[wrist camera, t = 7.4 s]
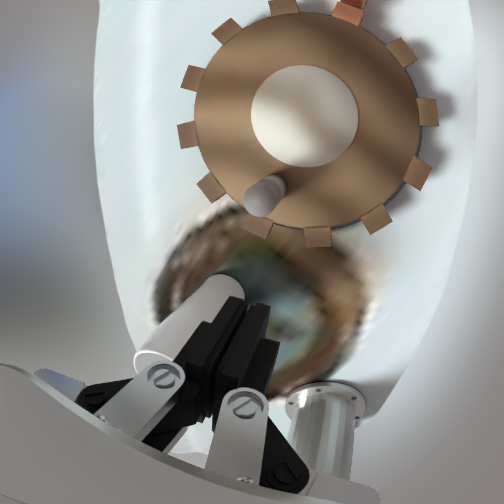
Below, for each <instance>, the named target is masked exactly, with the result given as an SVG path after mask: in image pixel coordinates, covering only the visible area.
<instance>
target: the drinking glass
mask: <svg viewBox="0 0 504 504" xmlns="http://www.w3.org/2000/svg"><path fill="white" fill-rule="evenodd" d="M229 296H233V297H237V298H241V299H243V300H244V299H245V295H244V291H243V288H242V287H241V285H240V284H239V283H238V282H237V281H236V280H235V279H234V278H232V277H230V276H228V275H223V274H217V275H213V276H211V277H209V278H208V279H207V280H206V281H205V282H204V283H203V284H202V285H201V287H199V288H198V289H197V290H196V291H195V292H194V293H193V294H192V295H191V296H190V297H189V298H188V299H187V300H186V301H184V302H183V303H182V304H181V305H180V306H179V307H178V308H177V309H176V310H175V311H174V312H172V313H171V314H170V315H169V316H168V317H167V318H166V319H165V320H164V321H163V322H162V323H161V324H160V325H159V326H158V327H157V328H156V329H155V330H154V331H153V332H152V333H151V335H150V336H149V337H148V338H147V339H146V341H145V342H144V343H143V344H142V346H141V347H140V349H139V350H138V351H137V352H136V354H135V356H134V367H135V369H136V372H137V373H138V374H139V373H140V372H141V371H142V370H143V369H145V368H146V367H147V366H148V365H150V364H151V363H153V362H156V361H163V360H164V361H171V362H172V361H173V360H174V359H175V357H176V356H177V355H178V353H179V352H180V350H181V349H182V348H183V346H184V345H185V344H186V342H187V341H188V339H189V338H190V337H191V335H192V334H193V333H194V331H195V330H196V328H197V327H198V326H199V324H200V323H201V322H202V321H206V322H209V323H212V321H213V320H214V318H215V317H216V315H217V314H218V312H219V311H220V309H221V308H222V306H223V305H224V303H225V302H226V300H227V299H228V297H229Z"/></svg>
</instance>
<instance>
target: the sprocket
mask: <svg viewBox="0 0 504 504" xmlns="http://www.w3.org/2000/svg"><path fill="white" fill-rule="evenodd" d="M268 3H269V7H270V12H271V16H272V17H268V18H266V19H263V20H260V21H257V22H255V23H253V24H251V25H249V26H247V27H246V28H244V29H243V28H241V27H240V26H239V25H238V24H237V23H236V22H235V21H234V20H233V19H232V18H230V19H228V20H227V21H226V22H225V23H223V24H222V25H221V26H220V27H218V28H217V29H216V30H215V31H214V32H212V33H211V34H212V35H213V36H214V37H215V38H216V39H217V40H218V41H219V42H220V43H221V44H222V47H221V48H220V49H219V50H218V51H217V53H216V54H215V55H214V56H213V58H212V59H211V61H210V62H209V64H208V66H207V67H206V69H204V68H200V67H195V66H191V65H188V68H187V71H186V73H185V76H184V79H183V82H182V84H181V87H180V88H184V89H188V90H191V91H195V92H197V94H196V100H195V106H194V121H191V122H187V123H183V124H180V125H177V128H178V134H179V140H180V146H181V149H183V148H189V147H194V146H199V149H200V152H201V154H202V157H203V160H204V161H205V163H206V165H207V167H208V169H209V171H210V173H208V174H207V175H206V176H205V177H204V178H203V179H202V180H200V181H199V182H198V183H197V185H198V186H199V188H200V189H201V190H202V192H203V193H204V194H205V196H206V197H207V198H208V199H209V201H210V202H211V203H213V202H215V201H216V200H218V199H220V198H221V197H222V196H223V195H225V194H226V193H227V194H228V195H229V196H230V197H232V198H233V199H234V200H235V201H236V202H237V203H239V204H240V205H241V206H243V207H244V208H246V209H247V211H248V212H249V213H248V216H247V218H246V221H245V223H244V226H243V229H245V230H247V231H249V232H251V233H254V234H256V235H258V236H260V237H262V238H264V239H266V238H267V236H268V235H269V233H270V231H271V229H272V227H273V224H274V222H275V223H278V224H282V225H286V226H291V227H298V228H304V238H305V248H306V247H331V241H332V238H331V227H333V226H337V225H341V224H345V223H348V222H351V221H353V220H356V219H359V218H360V219H361V220H362V222H363V224H364V225H365V227H366V228H367V230H368V232H369V233H370V235H371V234H373V233H375V232H376V231H378V230H380V229H381V228H383V227H384V226H386V225H388V224H389V223H391V222H393V221H392V219H391V218H390V216H389V214H388V212H387V211H386V209H385V207H384V206H383V203H384V202H385V201H386V200H387V199H388V198H389V197H390V196H391V195H392V194H393V193H394V192H395V191H396V190H397V188H398V187H399V186H400V184H401V183H402V182H403V181H405V182H406V183H408V184H410V185H411V186H413V187H415V188H416V189H418V190H419V191H421V189H422V187H423V185H424V183H425V181H426V179H427V177H428V175H429V173H430V171H431V169H432V167H430V166H429V165H427V164H426V163H424V162H423V161H421V160H419V159H418V158H416V157H415V154H416V150H417V146H418V142H419V131H420V126H439V122H438V113H437V106H436V99H425V98H416V95H415V92H414V90H413V87H412V84H411V82H410V80H409V78H408V76H407V74H406V72H405V70H404V69H405V68H406V67H408V66H410V65H411V64H413V63H414V62H415V61H417V60H418V58H417V57H416V55H415V54H414V53H413V52H412V50H411V49H410V48H409V47H408V45H407V44H406V43H405V42H404V41H403V40H402V38H401V37H400V38H398V39H396V40H395V41H393V42H391V43H389V44H387V45H386V46H385V45H384V44H383V43H382V42H380V41H379V40H378V39H377V38H375V37H374V36H373V35H372V34H370V33H368V32H367V31H365V30H364V29H362V28H360V27H359V26H360V24H361V21H362V19H363V14H364V11H363V10H360V9H358V8H355V7H352V6H350V5H347V4H344V3H342V2H339V1H338V2H337V4H336V7H335V9H334V11H333V13H332V16H329V15H324V14H318V13H304V12H299V9H298V5H297V2H296V0H271V1H268Z"/></svg>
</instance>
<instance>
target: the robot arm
mask: <svg viewBox="0 0 504 504" xmlns="http://www.w3.org/2000/svg"><path fill="white" fill-rule="evenodd" d="M247 306H248V304H246V303H244V300H243V299H241V298H237V297H233V296H229V297H228V299H227V300H226V302H225V303H224V305H223V306H222V308H221V309H220V311H219V312H218V314H217V315H216V317H215V318H214V320H213V321H212V323H209V322H206V321H202V322H201V323H200V324H199V326H198V327H197V328H196V330H195V331H194V333H193V334H192V335H191V337H190V338H189V339H188V341H187V342H186V344H185V345H184V346H183V348H182V349H181V350H180V352H179V353H178V355H177V356H176V357H175V359H174V360H173V361H172V362H171V361H164V360H163V361H156V362H153V363H151V364H150V365H148V366H147V367H146V368H145V369H143V370H142V371H141V372H140V373H139V374H138V375H137V376H136V377H135V378H131V379H126V380H120V381H114V382H108V383H102V384H95V385H90V386H86V385H85V383H84V382H81V381H78V380H75V379H73V378H70V377H67V376H65V375H62V374H59V373H57V372H54V371H52V370H49V369H40V370H38V371H36V372H35V373H34V374H33V373H31V372H29V371H27V370H25V369H23V368H20V367H18V366H14V365H11V364H6V363H0V504H380V497H379V494H378V493H377V491H376V490H375V489H373V488H371V487H369V486H366V485H362V484H359V483H355V482H352V481H350V474H351V465H352V454H353V443H354V428H355V423H357V422H358V421H359V420H360V419H361V418H362V417H363V415H364V413H365V408H366V404H365V399H364V397H363V396H362V394H361V393H360V392H358V391H357V390H356V389H354V388H352V387H350V386H347V385H344V384H340V383H334V382H316V383H311V384H307V385H304V386H301V387H299V388H297V389H295V390H294V391H293V392H291V393H290V395H289V396H288V397H287V400H286V404H285V411H286V413H287V415H288V417H289V418H290V419H291V420H292V422H291V426H290V430H289V434H288V438H287V440H286V439H285V438H284V436H283V435H282V434H281V432H280V431H279V430H278V428H277V427H276V426H275V424H274V423H273V422H272V420H271V419H270V418H269V416H268V411H269V405H268V401H267V399H266V397H265V393H266V390H267V387H268V384H269V381H270V378H271V375H272V371H273V368H274V365H275V361H276V358H277V354H278V350H279V346H280V342H277V341H273V340H269V339H266V338H265V334H266V329H267V324H268V319H269V314H270V308H271V306H268V305H264V304H260V303H257V304H256V306H254V305H251V306H250V308H249V310H248V311H247ZM212 414H213V417H212V431H213V433H214V435H213V439H212V443H211V447H210V451H209V454H208V458H207V462H206V466H205V469H202V468H200V467H197V466H194V465H192V464H189V463H187V462H184V461H182V460H179V459H177V458H175V457H172V456H170V455H168V453H169V452H170V450H171V449H172V448H173V447H174V445H175V444H176V443H177V442H178V441H179V439H180V438H181V437H182V436H183V435H184V433H185V432H186V431H187V429H188V426H191V425H194V424H196V422H200V423H203V421H204V419H205V417H208V418H210V417H211V416H212Z"/></svg>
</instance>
